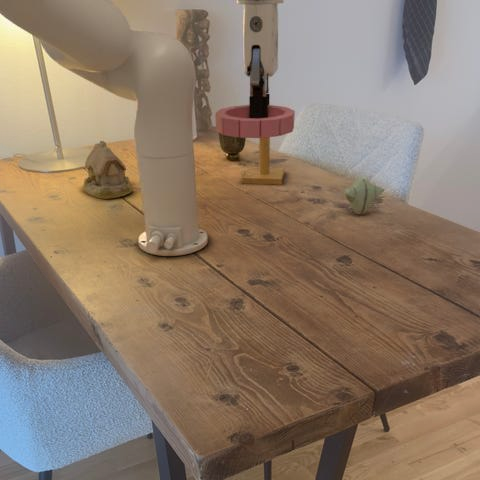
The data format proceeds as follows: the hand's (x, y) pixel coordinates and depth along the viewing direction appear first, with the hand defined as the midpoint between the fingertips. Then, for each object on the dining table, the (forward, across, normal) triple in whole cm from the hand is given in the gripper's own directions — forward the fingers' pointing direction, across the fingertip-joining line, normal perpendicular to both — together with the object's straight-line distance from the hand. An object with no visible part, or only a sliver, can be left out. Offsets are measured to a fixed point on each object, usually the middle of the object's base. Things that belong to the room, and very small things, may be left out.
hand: (259, 119), depth 102 cm
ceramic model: (+18, +14, +36) cm, 43 cm away
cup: (+18, +43, +12) cm, 48 cm away
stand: (+18, +27, +2) cm, 32 cm away
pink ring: (0, -6, 0) cm, 6 cm away
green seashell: (+18, +4, -20) cm, 27 cm away
